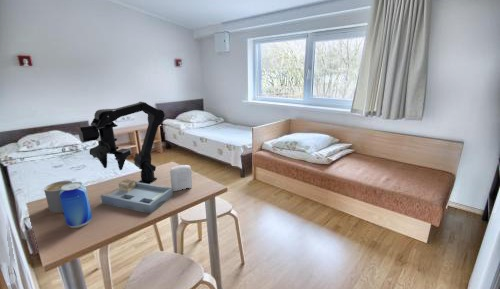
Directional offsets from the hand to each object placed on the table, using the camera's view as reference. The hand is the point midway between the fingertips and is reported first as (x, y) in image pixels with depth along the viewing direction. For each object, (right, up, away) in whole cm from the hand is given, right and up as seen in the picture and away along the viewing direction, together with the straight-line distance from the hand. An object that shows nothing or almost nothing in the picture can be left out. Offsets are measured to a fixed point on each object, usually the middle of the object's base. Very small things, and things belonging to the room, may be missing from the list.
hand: (113, 168), depth 120 cm
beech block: (+6, -10, +1) cm, 12 cm away
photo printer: (+31, -11, +7) cm, 34 cm away
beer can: (-2, -19, -21) cm, 29 cm away
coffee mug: (-15, -16, -11) cm, 24 cm away
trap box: (+14, -14, -4) cm, 20 cm away
